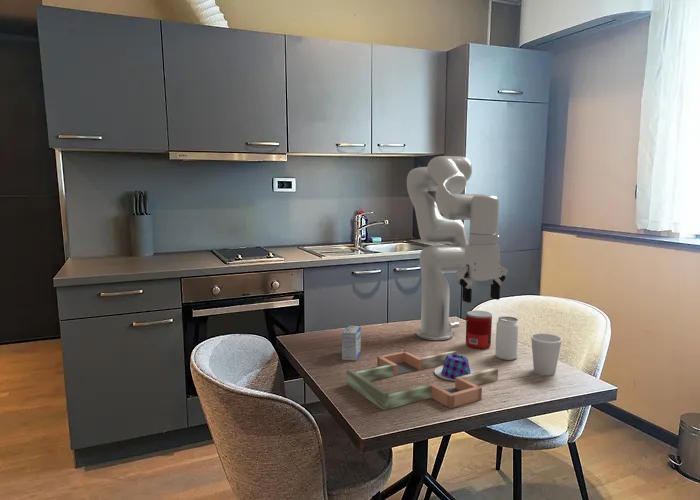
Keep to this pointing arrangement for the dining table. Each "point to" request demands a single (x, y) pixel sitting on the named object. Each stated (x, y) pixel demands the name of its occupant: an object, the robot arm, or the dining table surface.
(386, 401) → the track
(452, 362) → the pudding
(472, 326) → the canned food
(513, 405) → the dining table surface
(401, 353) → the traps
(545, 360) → the dixie cup
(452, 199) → the robot arm
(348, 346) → the medicine box
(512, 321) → the can
